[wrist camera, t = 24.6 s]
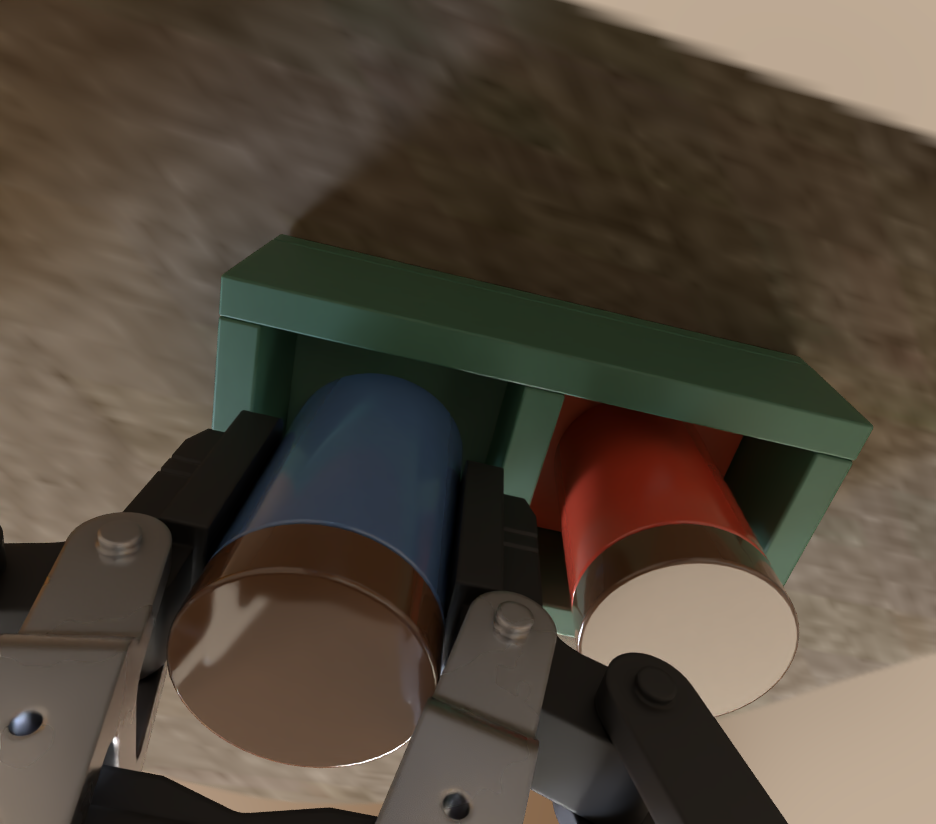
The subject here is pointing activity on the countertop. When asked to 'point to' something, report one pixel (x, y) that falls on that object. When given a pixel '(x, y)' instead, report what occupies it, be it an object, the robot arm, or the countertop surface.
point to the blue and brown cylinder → (329, 583)
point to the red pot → (667, 558)
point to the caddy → (532, 382)
